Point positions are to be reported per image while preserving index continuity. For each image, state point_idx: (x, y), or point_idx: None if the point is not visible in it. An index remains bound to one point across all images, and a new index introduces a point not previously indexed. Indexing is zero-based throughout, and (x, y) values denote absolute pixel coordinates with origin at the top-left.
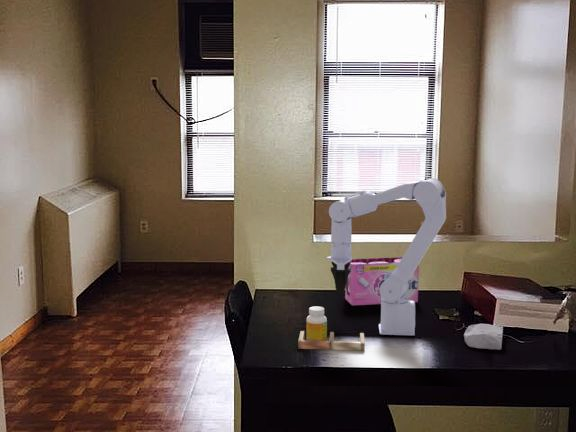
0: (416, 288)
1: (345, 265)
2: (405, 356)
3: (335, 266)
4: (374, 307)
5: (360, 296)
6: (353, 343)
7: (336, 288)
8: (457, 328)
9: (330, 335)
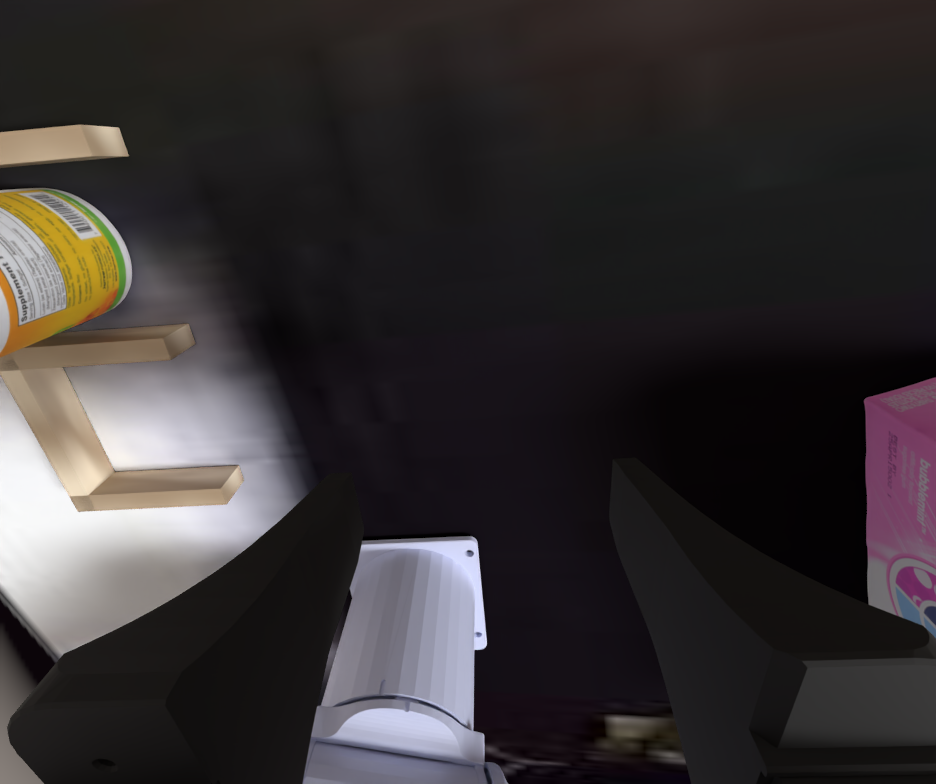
0: None
1: (706, 770)
2: (130, 613)
3: (722, 638)
4: (803, 512)
5: (907, 477)
6: (55, 465)
7: (309, 498)
8: (497, 748)
9: (101, 346)
